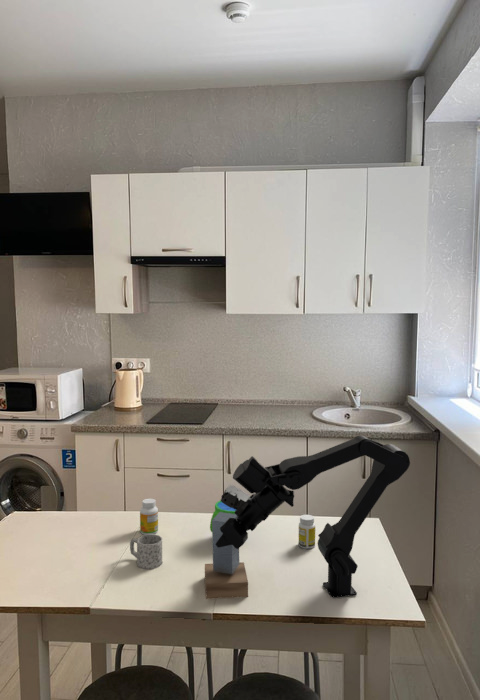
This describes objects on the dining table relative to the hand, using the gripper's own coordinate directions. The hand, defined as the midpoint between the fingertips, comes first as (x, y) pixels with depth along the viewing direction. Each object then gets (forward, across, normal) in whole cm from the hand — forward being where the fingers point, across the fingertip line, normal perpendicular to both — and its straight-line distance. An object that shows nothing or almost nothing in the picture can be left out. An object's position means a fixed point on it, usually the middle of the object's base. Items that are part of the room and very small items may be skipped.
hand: (220, 541), depth 137 cm
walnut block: (+8, 0, +9) cm, 12 cm away
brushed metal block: (+4, 0, +6) cm, 7 cm away
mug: (+25, -5, -8) cm, 27 cm away
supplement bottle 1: (+30, -23, -14) cm, 40 cm away
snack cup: (+13, -27, +4) cm, 30 cm away
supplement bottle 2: (-3, -29, +20) cm, 35 cm away
